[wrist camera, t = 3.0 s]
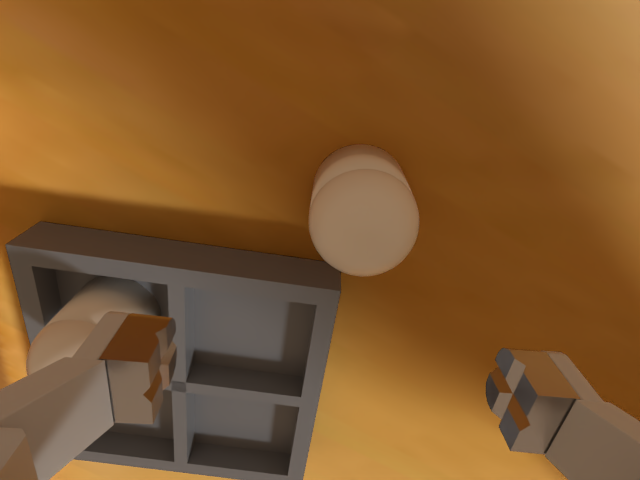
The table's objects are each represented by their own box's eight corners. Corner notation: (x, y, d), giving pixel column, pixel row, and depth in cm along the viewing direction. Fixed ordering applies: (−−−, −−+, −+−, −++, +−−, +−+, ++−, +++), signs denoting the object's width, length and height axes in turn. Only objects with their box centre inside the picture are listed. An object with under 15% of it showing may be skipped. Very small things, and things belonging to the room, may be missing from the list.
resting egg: (159, 281, 21) (103, 363, 16) (162, 345, 23) (113, 435, 18) (74, 269, 21) (-11, 348, 16) (84, 335, 23) (13, 423, 18)
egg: (415, 151, 19) (444, 199, 14) (393, 236, 21) (412, 306, 16) (320, 137, 19) (313, 180, 13) (307, 223, 21) (298, 290, 15)
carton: (340, 263, 22) (340, 291, 19) (304, 451, 29) (301, 486, 27) (40, 221, 21) (5, 244, 19) (80, 423, 28) (58, 457, 26)
